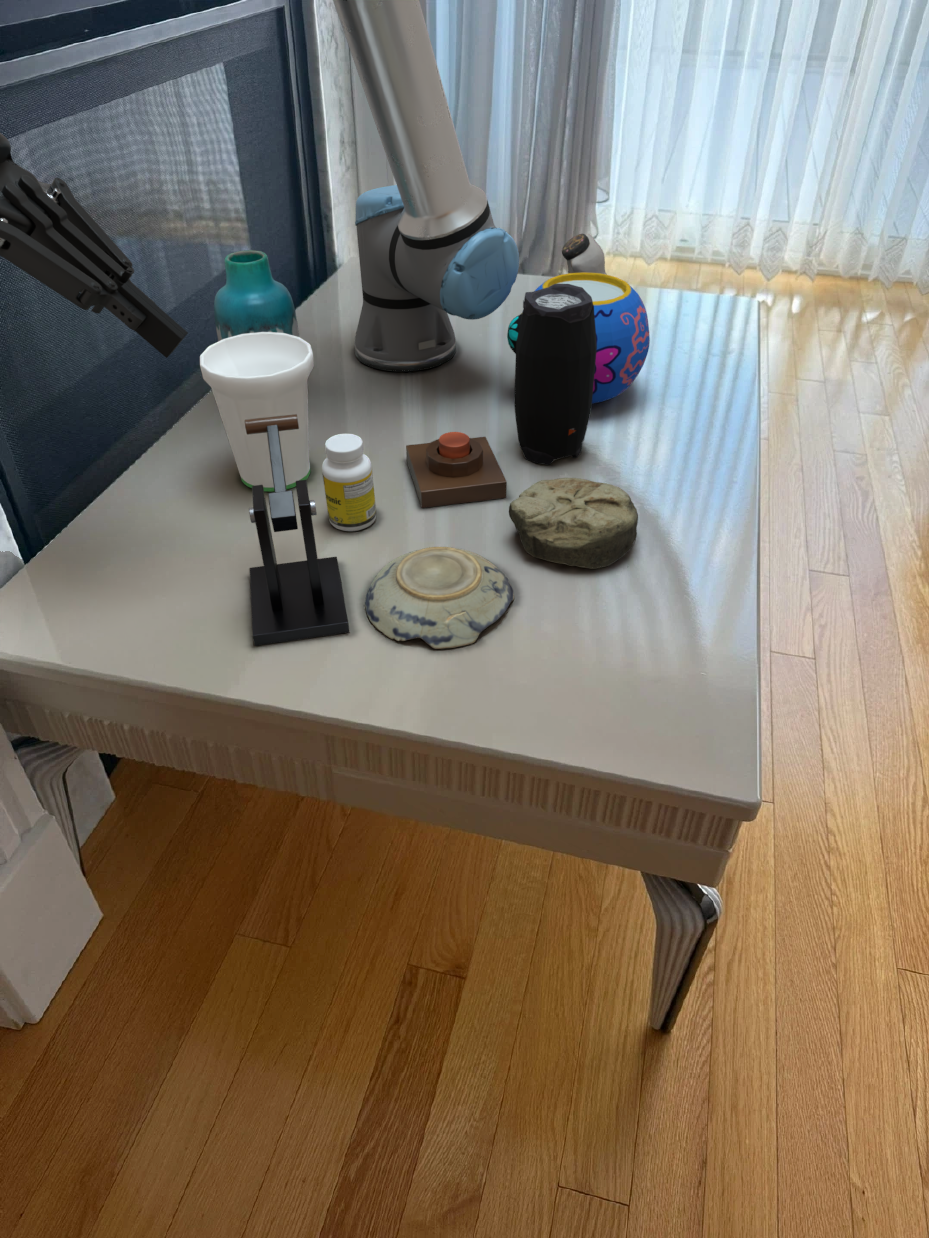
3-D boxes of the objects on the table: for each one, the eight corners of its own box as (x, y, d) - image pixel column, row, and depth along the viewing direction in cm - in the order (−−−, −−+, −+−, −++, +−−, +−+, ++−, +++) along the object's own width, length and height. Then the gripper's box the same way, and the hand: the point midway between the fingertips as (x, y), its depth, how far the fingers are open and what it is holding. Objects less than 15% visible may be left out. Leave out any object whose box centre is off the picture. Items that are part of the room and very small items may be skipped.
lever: (246, 428, 88) (243, 413, 86) (298, 423, 89) (296, 407, 87) (258, 534, 83) (255, 520, 81) (313, 527, 84) (311, 514, 82)
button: (436, 446, 107) (436, 433, 106) (466, 443, 107) (466, 430, 106) (442, 461, 104) (441, 448, 103) (472, 458, 105) (472, 444, 103)
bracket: (251, 577, 93) (229, 470, 85) (338, 566, 95) (324, 459, 87) (254, 646, 85) (230, 534, 77) (349, 632, 87) (335, 521, 78)
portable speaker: (593, 465, 110) (607, 308, 97) (517, 469, 110) (521, 311, 97) (580, 432, 117) (592, 280, 104) (509, 435, 116) (512, 283, 103)
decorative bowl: (383, 664, 83) (536, 631, 86) (379, 633, 81) (537, 601, 84) (352, 572, 94) (488, 545, 97) (348, 543, 92) (488, 517, 95)
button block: (406, 461, 111) (405, 432, 109) (485, 452, 113) (485, 423, 110) (421, 508, 103) (420, 478, 101) (506, 498, 105) (507, 468, 102)
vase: (255, 423, 119) (229, 277, 107) (216, 396, 126) (187, 256, 113) (322, 398, 125) (304, 257, 112) (280, 374, 131) (260, 237, 119)
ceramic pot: (541, 360, 134) (545, 256, 124) (657, 381, 128) (672, 274, 118) (493, 409, 122) (494, 299, 112) (620, 435, 116) (632, 321, 106)
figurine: (576, 320, 145) (583, 223, 136) (632, 334, 141) (643, 234, 131) (548, 338, 140) (553, 238, 130) (605, 353, 135) (614, 250, 126)
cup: (267, 513, 103) (244, 389, 93) (203, 476, 109) (176, 355, 99) (348, 471, 110) (335, 351, 100) (284, 438, 116) (266, 322, 106)
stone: (611, 588, 91) (616, 545, 88) (493, 552, 96) (494, 510, 93) (653, 524, 100) (659, 483, 97) (543, 494, 105) (546, 454, 102)
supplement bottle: (322, 512, 103) (312, 435, 96) (367, 502, 104) (360, 425, 98) (336, 537, 99) (326, 459, 93) (383, 526, 100) (376, 448, 94)
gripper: (-32, 156, 81) (183, 343, 90) (-125, 196, 71) (127, 402, 80) (2, 90, 77) (224, 292, 86) (-91, 123, 67) (170, 348, 76)
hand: (177, 345), depth 83 cm, fingers closed
